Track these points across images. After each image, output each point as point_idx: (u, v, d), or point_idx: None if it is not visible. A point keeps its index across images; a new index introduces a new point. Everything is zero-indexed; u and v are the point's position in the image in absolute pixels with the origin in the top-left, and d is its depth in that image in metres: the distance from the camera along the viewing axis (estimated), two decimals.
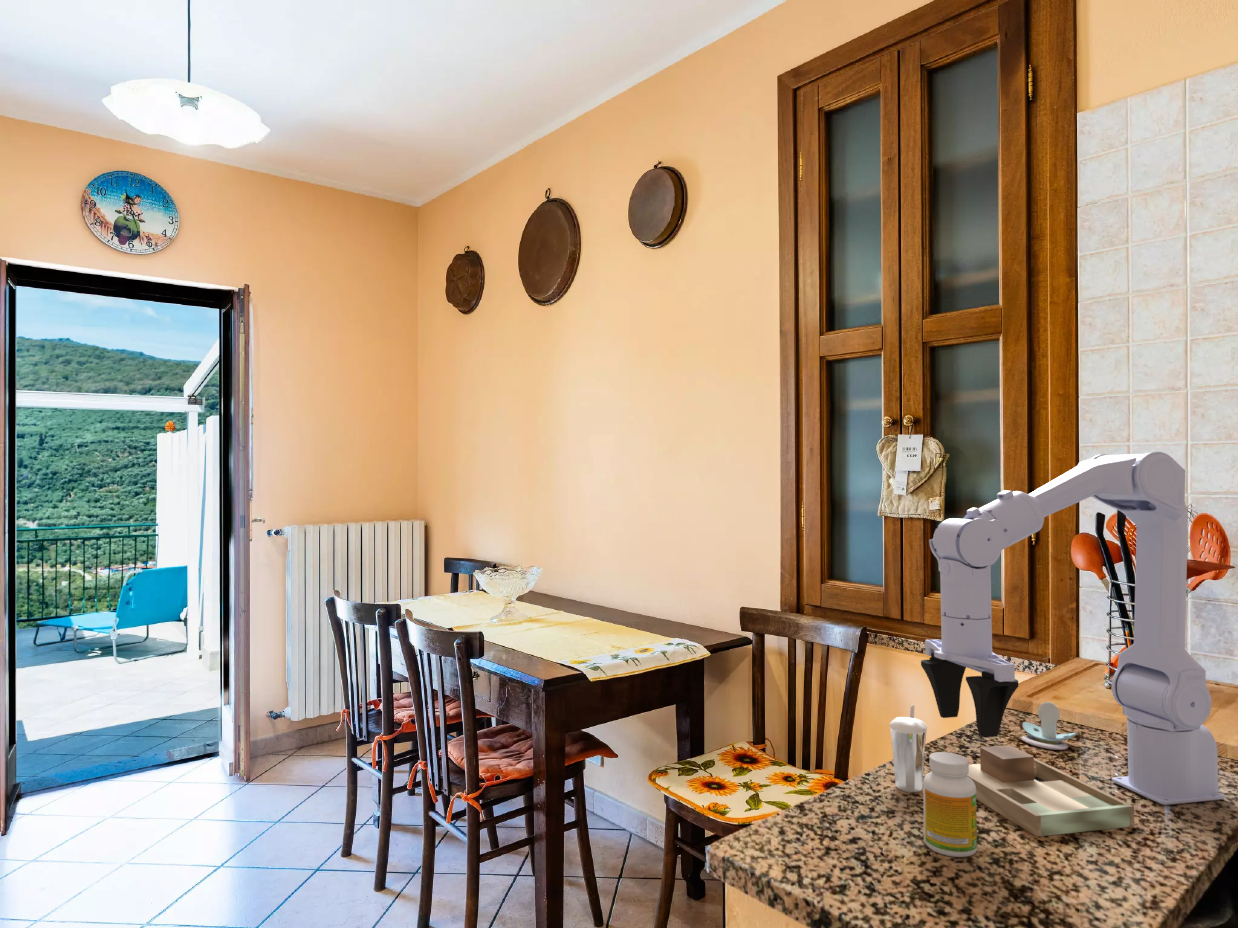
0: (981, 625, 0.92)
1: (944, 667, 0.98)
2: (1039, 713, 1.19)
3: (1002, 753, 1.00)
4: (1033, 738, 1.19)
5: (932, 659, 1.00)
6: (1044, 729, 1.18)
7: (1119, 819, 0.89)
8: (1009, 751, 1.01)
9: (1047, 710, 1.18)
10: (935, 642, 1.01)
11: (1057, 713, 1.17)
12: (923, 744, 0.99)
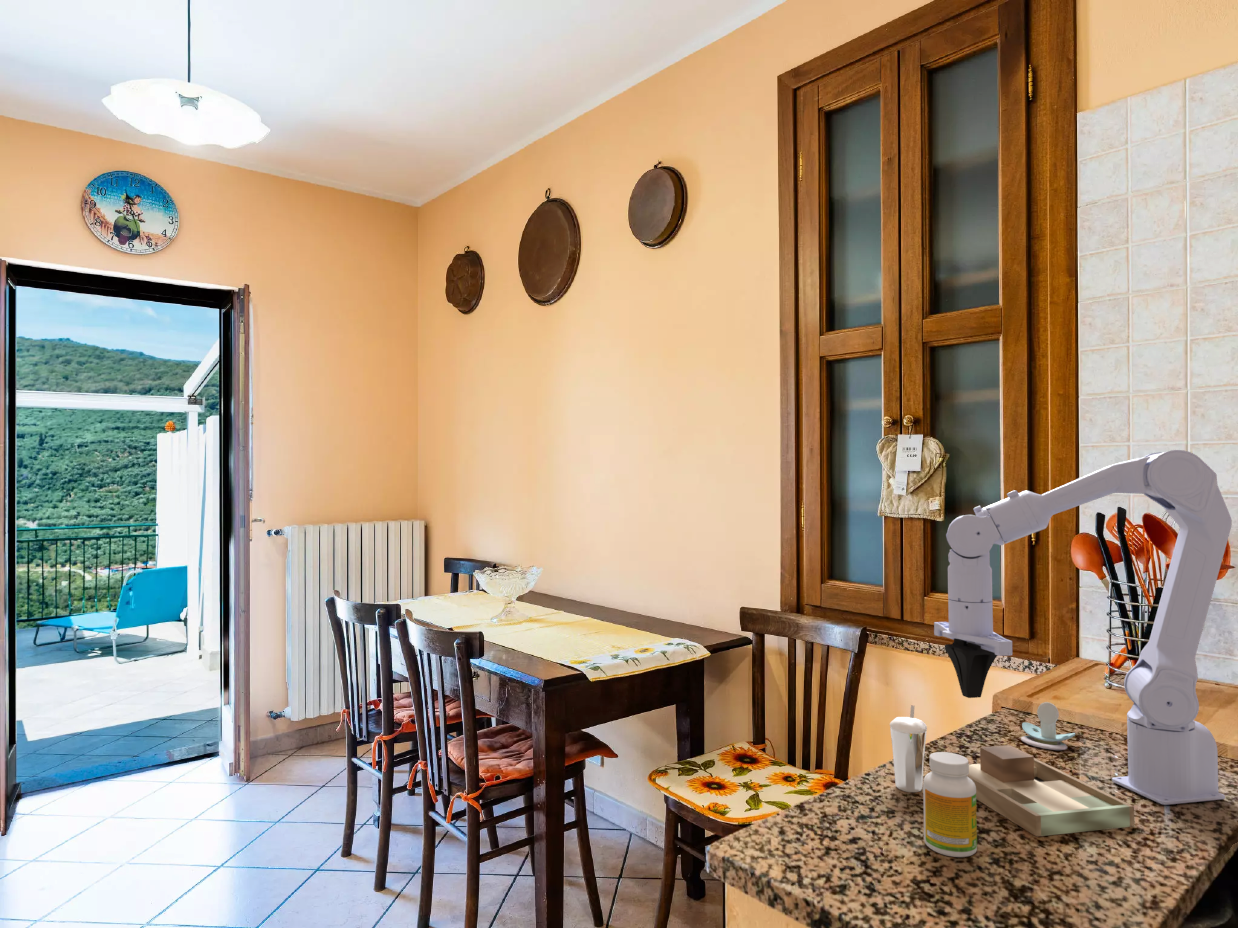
0: (983, 608, 1.05)
1: None
2: (1038, 713, 1.19)
3: (1002, 753, 1.00)
4: (1032, 738, 1.19)
5: (955, 644, 1.10)
6: (1043, 729, 1.18)
7: (1119, 819, 0.89)
8: (1009, 751, 1.01)
9: (1046, 710, 1.18)
10: (943, 624, 1.14)
11: (1056, 713, 1.17)
12: (923, 744, 0.99)
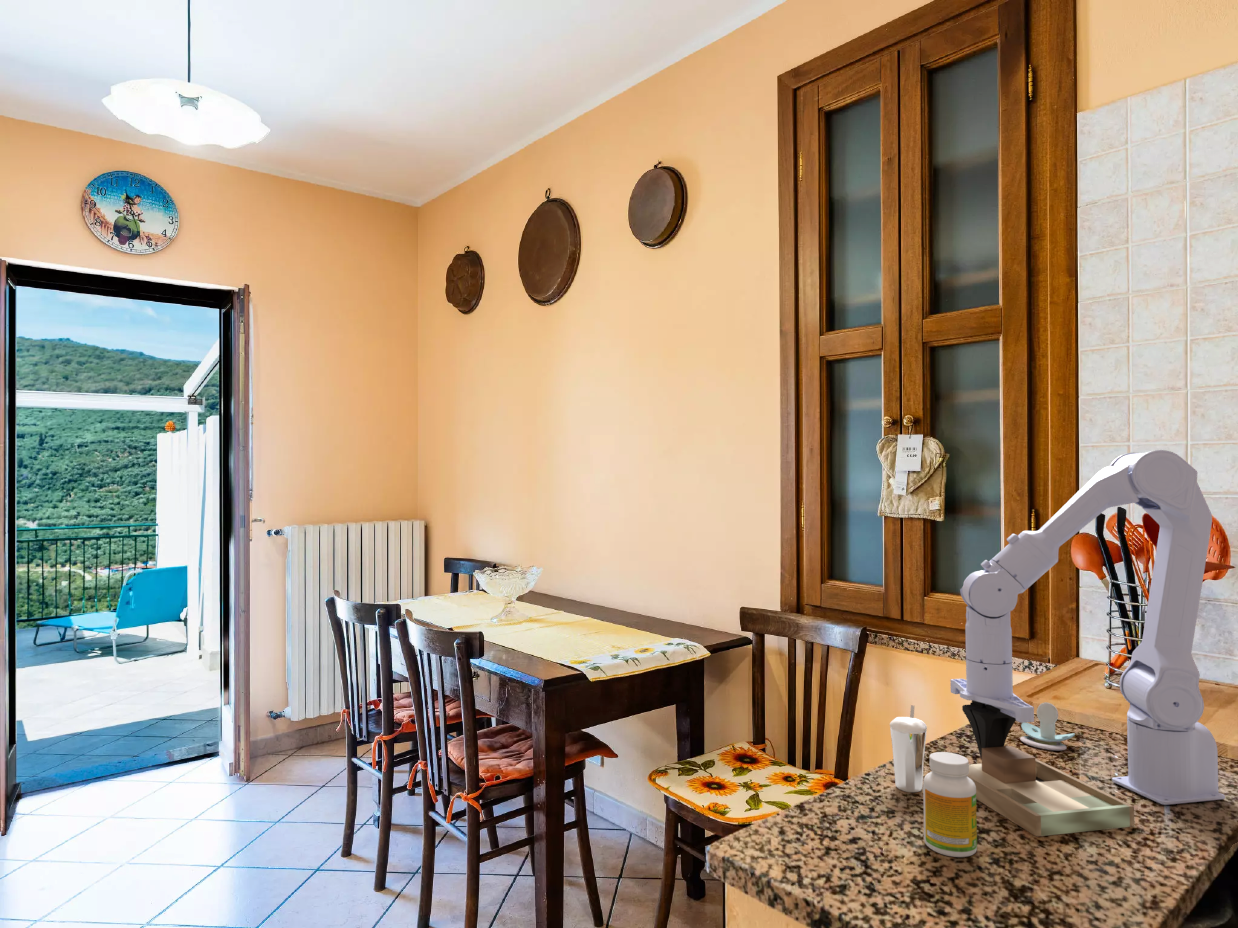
0: (1003, 670, 1.02)
1: None
2: (1038, 714, 1.18)
3: (1004, 754, 1.00)
4: (1032, 739, 1.19)
5: (973, 704, 1.06)
6: (1042, 730, 1.18)
7: (1119, 819, 0.89)
8: (1010, 752, 1.01)
9: (1046, 711, 1.18)
10: (959, 681, 1.10)
11: (1056, 714, 1.17)
12: (923, 744, 0.99)
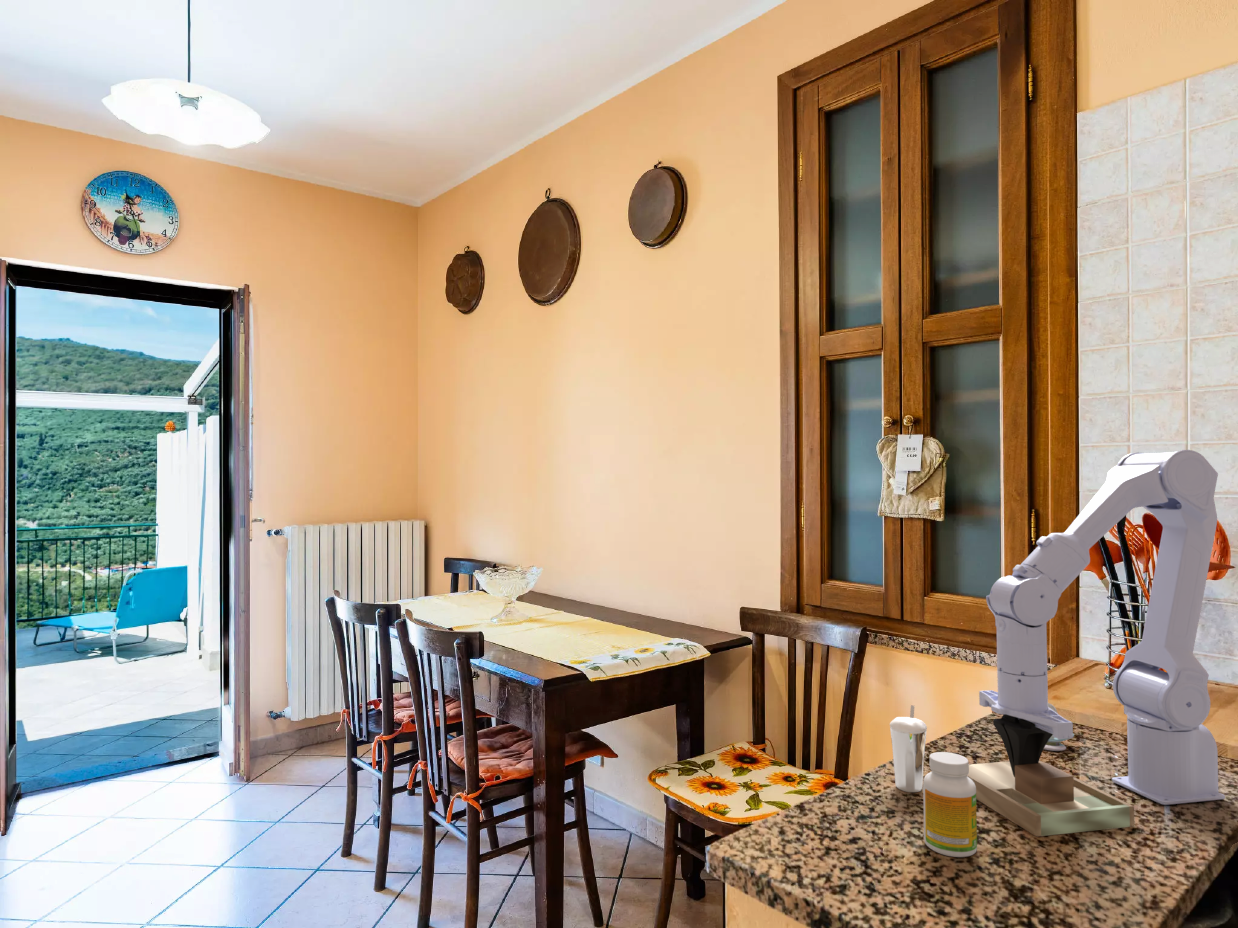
0: (1038, 682, 0.95)
1: None
2: None
3: (1039, 772, 0.94)
4: None
5: (1004, 718, 1.00)
6: None
7: (1119, 819, 0.89)
8: (1046, 770, 0.94)
9: None
10: (989, 693, 1.04)
11: None
12: (923, 744, 0.99)
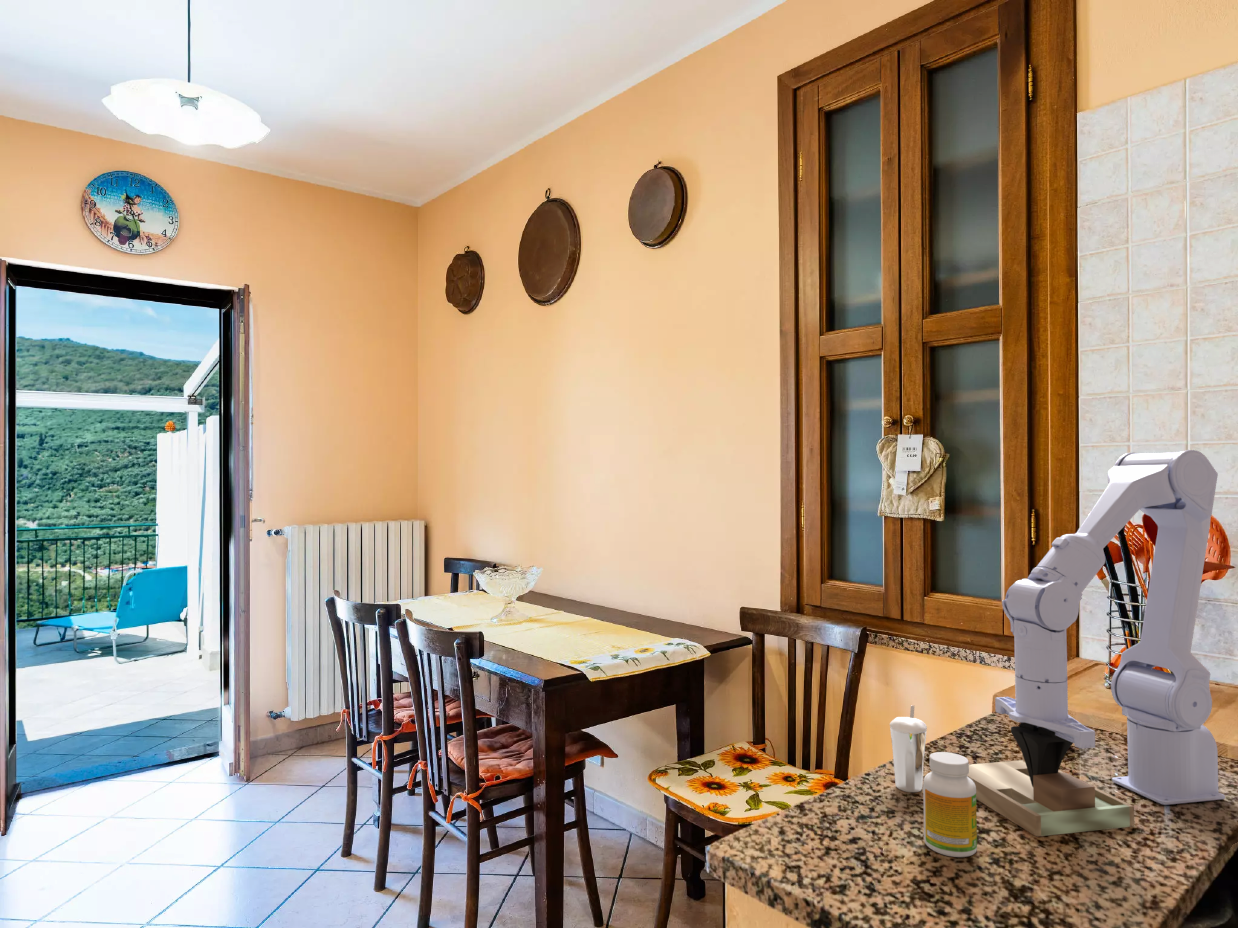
0: (1058, 689, 0.92)
1: None
2: None
3: (1059, 782, 0.90)
4: None
5: (1022, 726, 0.96)
6: None
7: (1119, 819, 0.89)
8: (1066, 780, 0.91)
9: None
10: (1006, 700, 1.01)
11: None
12: (923, 744, 0.99)
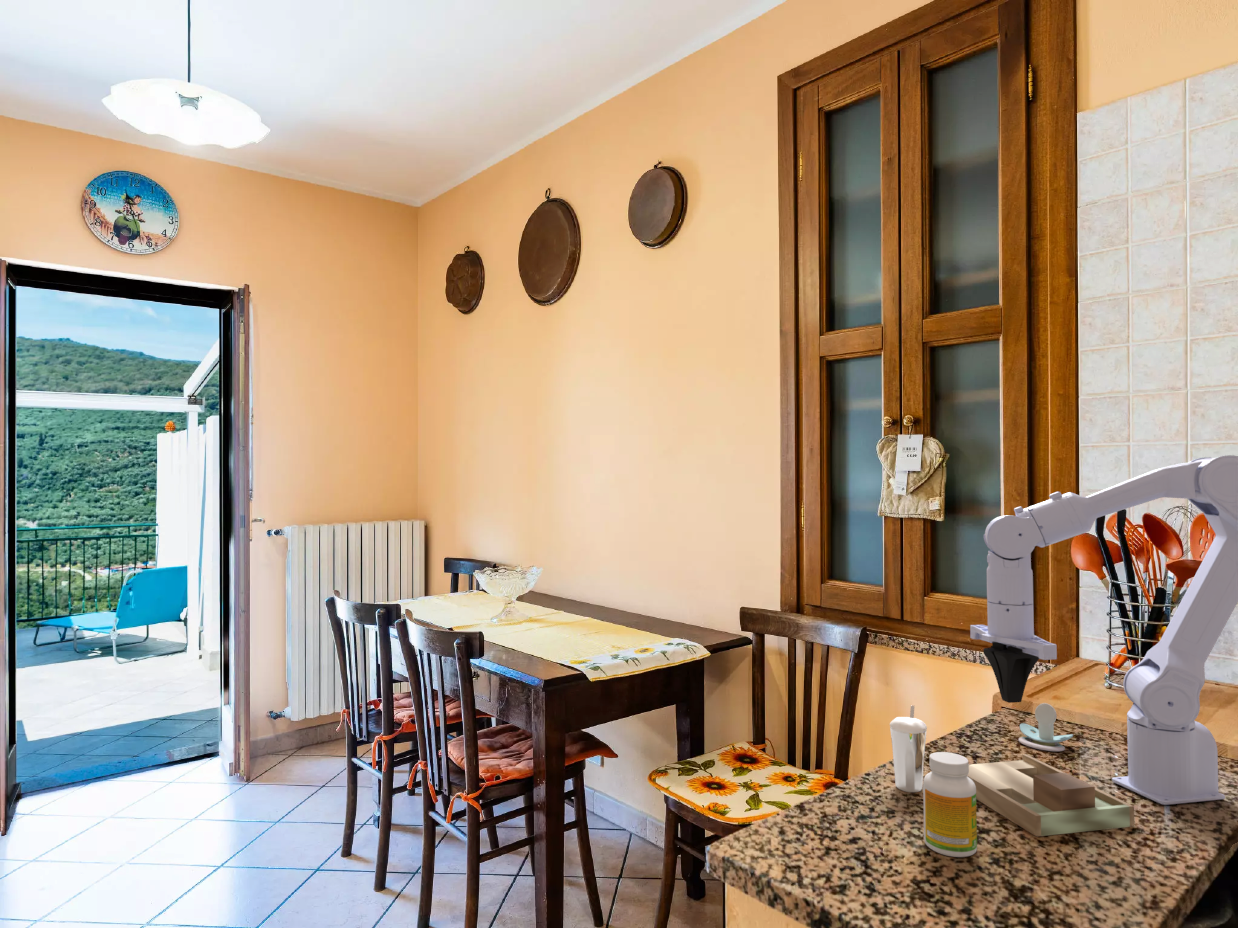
0: (1024, 611, 1.03)
1: None
2: (1036, 714, 1.18)
3: (1059, 782, 0.90)
4: (1030, 740, 1.18)
5: (994, 647, 1.08)
6: (1041, 731, 1.17)
7: (1119, 819, 0.89)
8: (1066, 780, 0.91)
9: (1044, 711, 1.17)
10: (979, 627, 1.12)
11: (1054, 714, 1.16)
12: (923, 744, 0.99)
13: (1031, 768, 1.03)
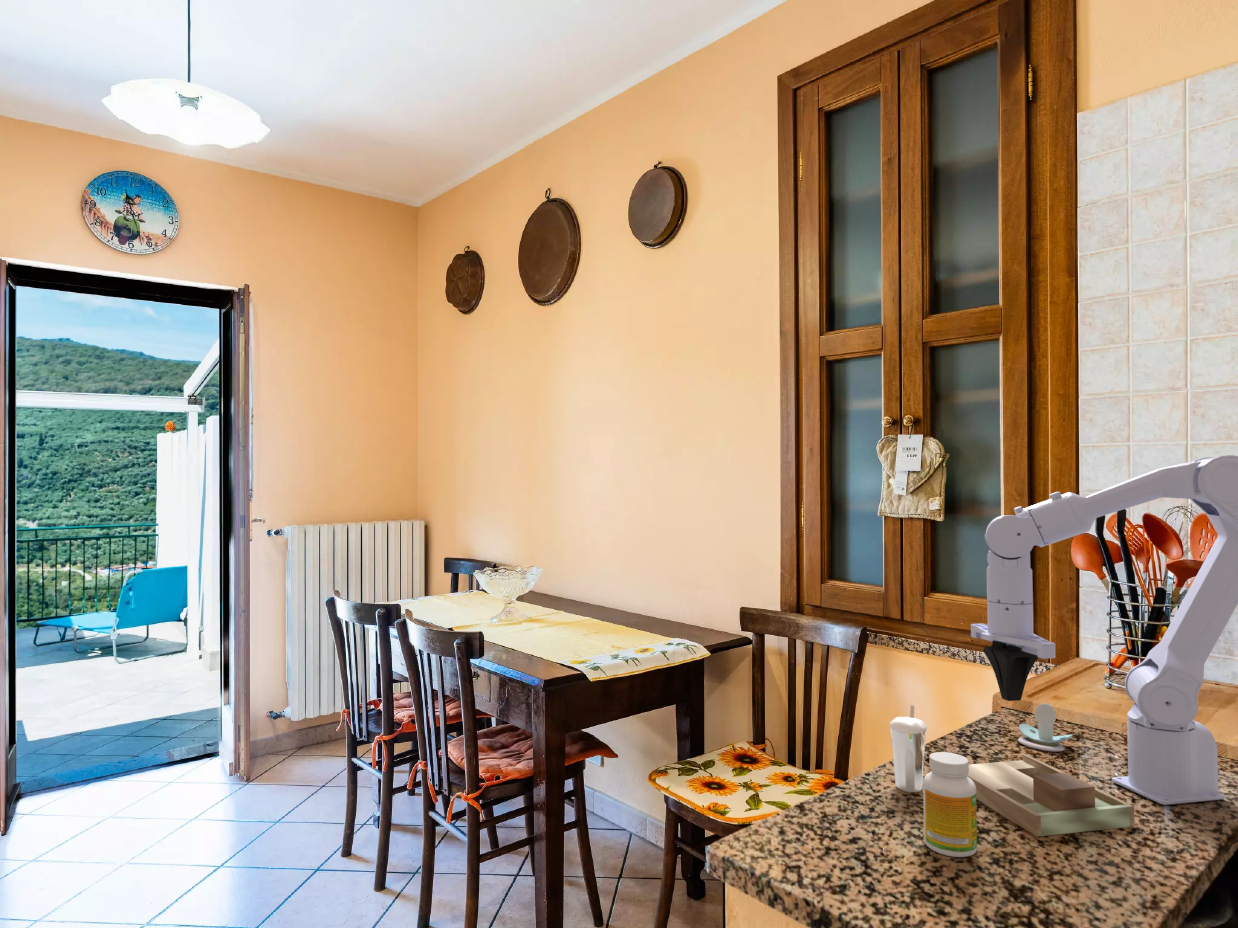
0: (1024, 610, 1.04)
1: None
2: (1036, 715, 1.18)
3: (1059, 782, 0.90)
4: (1030, 740, 1.18)
5: (994, 646, 1.08)
6: (1040, 731, 1.17)
7: (1119, 819, 0.89)
8: (1066, 780, 0.91)
9: (1044, 712, 1.17)
10: (980, 626, 1.13)
11: (1054, 715, 1.16)
12: (923, 744, 0.99)
13: (1031, 768, 1.03)
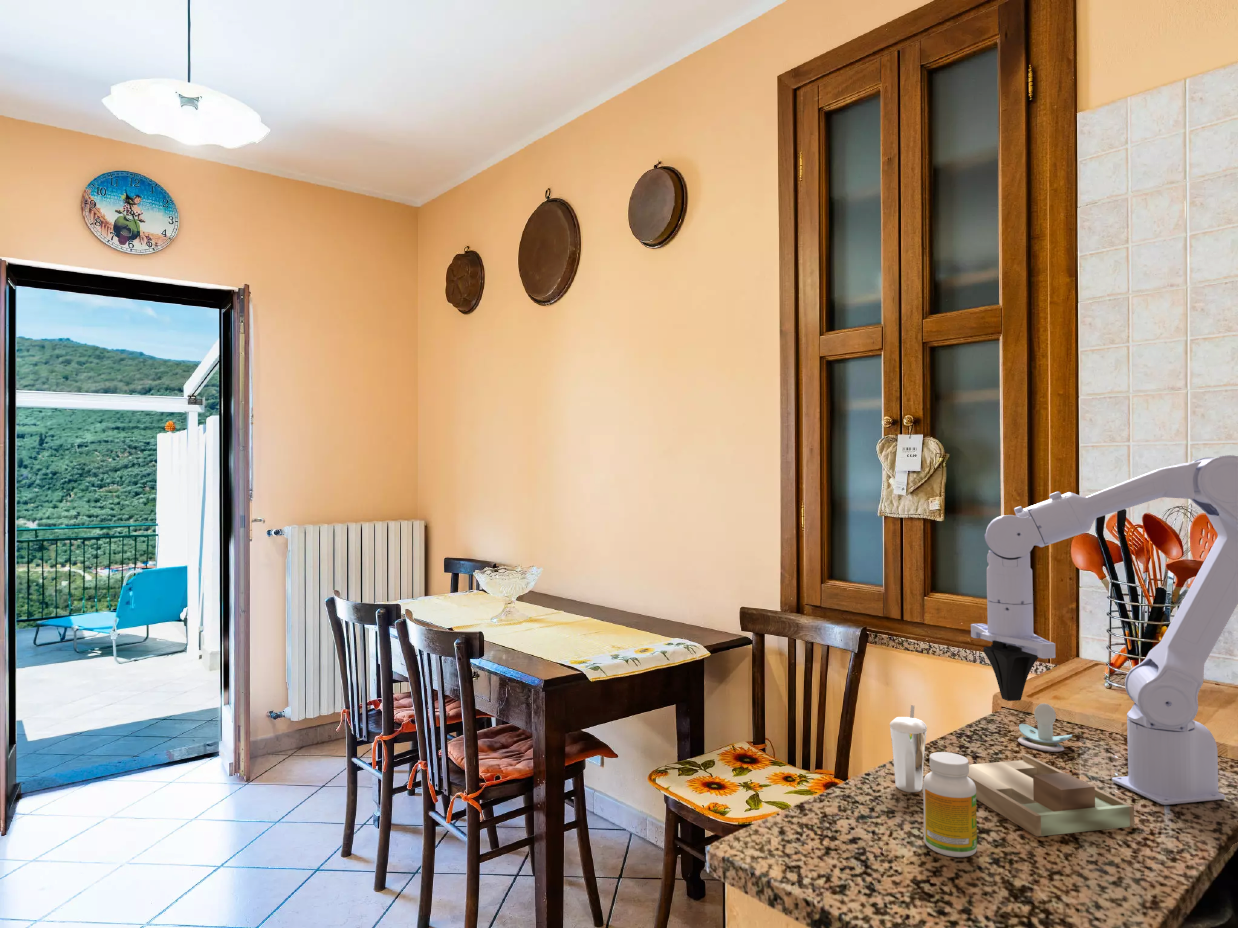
0: (1024, 610, 1.04)
1: None
2: (1035, 715, 1.18)
3: (1059, 782, 0.90)
4: (1029, 740, 1.18)
5: (994, 646, 1.08)
6: (1040, 731, 1.17)
7: (1119, 819, 0.89)
8: (1066, 780, 0.91)
9: (1043, 712, 1.17)
10: (980, 626, 1.13)
11: (1053, 715, 1.16)
12: (923, 744, 0.99)
13: (1031, 768, 1.03)
